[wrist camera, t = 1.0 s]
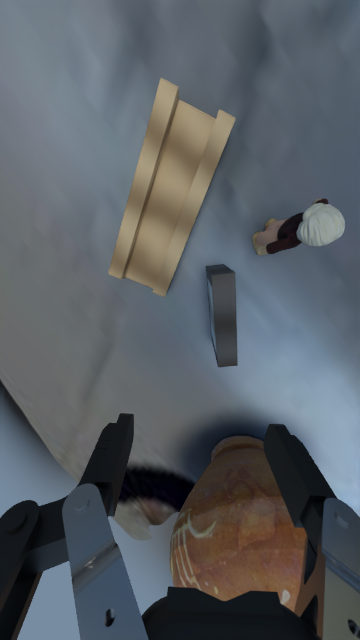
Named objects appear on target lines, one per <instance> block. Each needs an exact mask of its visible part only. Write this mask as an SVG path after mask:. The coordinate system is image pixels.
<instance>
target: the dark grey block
mask: <svg viewBox="0 0 360 640" xmlns="http://www.w3.org/2000/svg"><path fill="white" fill-rule="evenodd" d="M206 273H207V285H208V298H209V311H210V323H211V336H212V342H213V347H214V351H215V355H216V360H217V364H218V367H225V366H237V365H238V364H237V325H236V287H235V272H234V271H232V270H231V269H229V268H228V267H227V266H225V265H224V264H221V265H213V266H206Z"/></svg>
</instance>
